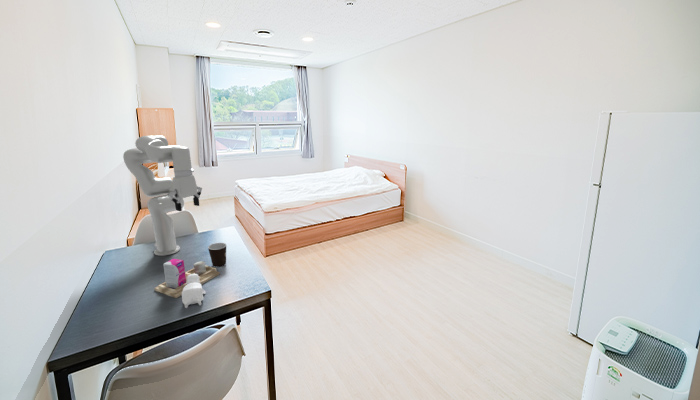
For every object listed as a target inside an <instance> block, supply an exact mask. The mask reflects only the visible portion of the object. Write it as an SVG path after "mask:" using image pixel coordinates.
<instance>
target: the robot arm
mask: <svg viewBox="0 0 700 400" xmlns="http://www.w3.org/2000/svg"><path fill="white" fill-rule="evenodd" d="M134 144H135V147H136V148H131V149H127V150H125V151H124V153H123V155H122V158H123V161H124V165H125V166H126V167H127V169H128V171H130V173H131V174H132V175H133V176H134V178H135V179H136V181H137V183H138V186H139V188H140V189H141V191H142V193H143V194H144V195H145V197H148V198H150V199H148V201H147V204H146V205H147V209H148V212H149V214H150V215H149V216H150V218H151V223H152V227H153V228H152V229H153V233H154V238H155V243H154V244H153V245H154V247H155V248H156V249H154V251H153V254H154V255H155V256H158V257H164V256H170V255H173V254H176V253H177V252H179V251H180V250H181V247H180V245H178V244H177V240H176V234H175V228H174V222H173V221H174V220H173V219H172V217H171V216H170V215H168V213H170V212H171V213H172V212H176V211H178V212H182V210H183V208H184V207H185V201H184V199H185V198H188V197H189V198H190V197H192V201H193V206H196V207H199V206H200V200H199V199H200V197H201V194H202V190H203V188H202V187H200V186H198V185H197V180H196V179H195V176H194V175H195V174H193V172H194V171H195V170H194V169H193V168H192V162H191V161H192V160H191V153H190V149H189V147H187V146H182V145H179V144H177V145H176V144H174V145H173V144H172V145H169V141H168V139H167V138H166V137H165V136H164V135H142V136H139V137H137V139H136V140H135V143H134ZM171 162H172V167H173V174H174V177H172V178H171V177H168V176H166V177H165V176H164V177H163V176H162V177H157V176H155V173H154V172H153V170H152V169H150V168H149V167H147V166H145V165H143V164H151V163H153V164H154V163H157V164H162V163H163V164H164V163H171Z"/></svg>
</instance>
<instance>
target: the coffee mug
mask: <svg viewBox="0 0 700 400" xmlns="http://www.w3.org/2000/svg"><path fill="white" fill-rule="evenodd" d="M207 250H208V252H209V257H210V260H211V264H212V266H213V267H214V268H220V267H224V266H225V265H226V264H227V244H226V243H225V242H214V243H212V244H210V245H209V246H207Z"/></svg>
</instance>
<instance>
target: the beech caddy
mask: <svg viewBox="0 0 700 400" xmlns="http://www.w3.org/2000/svg"><path fill="white" fill-rule="evenodd" d="M220 273H221V272H220V271H217V267H214V266H213V267H212V266H210V265H207V264H206V262H205V261H204V260H203V261H197V262H194V263H193V268H191V269H189V270H187V271H186V270H185V276H186V279H187V276H188V275H190V274H198V276H199V279H200V284H201V285H203V284H204V283H207V282H208V281H210V280H212V279H214V278H216V277H218V276H219V275H221V274H220ZM186 282H187V280H186ZM186 285H187V283H185V284H183V285H181V286H179V287H177V288H175V289H172V288H169V287H166V281H164V282H162V283H159V284H158V285H157V286H155V287H154V291H155V292H158V293H161V294H164V295H165V296H168V297H171V298H175V299H179V298H180V297H182V291H183V288H184V287H185V286H186Z"/></svg>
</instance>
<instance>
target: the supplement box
mask: <svg viewBox="0 0 700 400" xmlns="http://www.w3.org/2000/svg"><path fill="white" fill-rule="evenodd" d="M162 266H163V271H164V280H165V281H164V282H166V287H169V288H172V289H175V288H177V287H179V286H181V285H183V284H185V283H186V276H185V272H186V269H185V268H186V267H185V261H184V260H183V259H179V258H178V259H177V258H172V259H170V260H168V261H166V262H164V263H163V265H162Z"/></svg>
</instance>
